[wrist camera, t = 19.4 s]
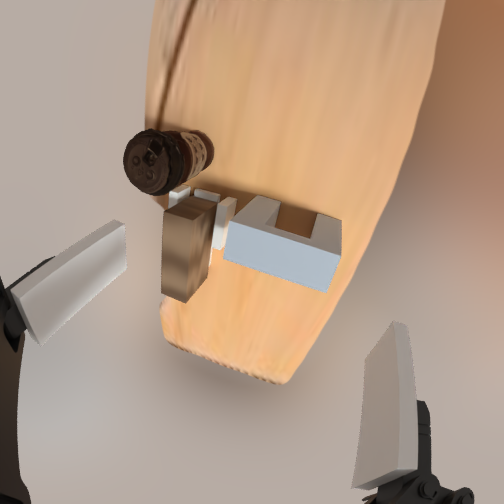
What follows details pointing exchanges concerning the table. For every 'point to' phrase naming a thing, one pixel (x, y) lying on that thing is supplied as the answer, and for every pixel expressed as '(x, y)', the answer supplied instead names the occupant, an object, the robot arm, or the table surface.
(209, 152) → the coffee cup
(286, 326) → the table surface
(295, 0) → the table surface
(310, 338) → the table surface
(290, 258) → the bore block
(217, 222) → the cradle
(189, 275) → the walnut bar
